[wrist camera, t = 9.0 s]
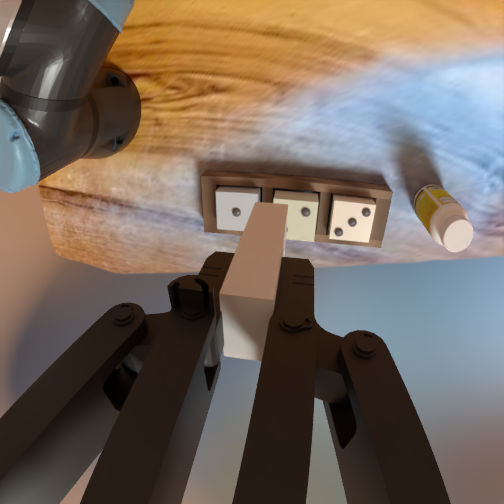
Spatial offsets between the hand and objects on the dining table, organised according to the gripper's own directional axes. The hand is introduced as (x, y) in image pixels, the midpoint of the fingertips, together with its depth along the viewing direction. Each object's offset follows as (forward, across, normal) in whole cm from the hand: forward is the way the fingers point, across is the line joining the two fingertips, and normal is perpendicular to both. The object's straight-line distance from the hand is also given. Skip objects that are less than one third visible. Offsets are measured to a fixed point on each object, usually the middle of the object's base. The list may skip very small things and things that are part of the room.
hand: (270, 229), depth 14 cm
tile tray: (+29, +1, -11) cm, 31 cm away
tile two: (+27, +1, -11) cm, 29 cm away
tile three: (+28, +9, -11) cm, 32 cm away
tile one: (+28, -7, -11) cm, 31 cm away
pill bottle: (+30, +22, -8) cm, 38 cm away
